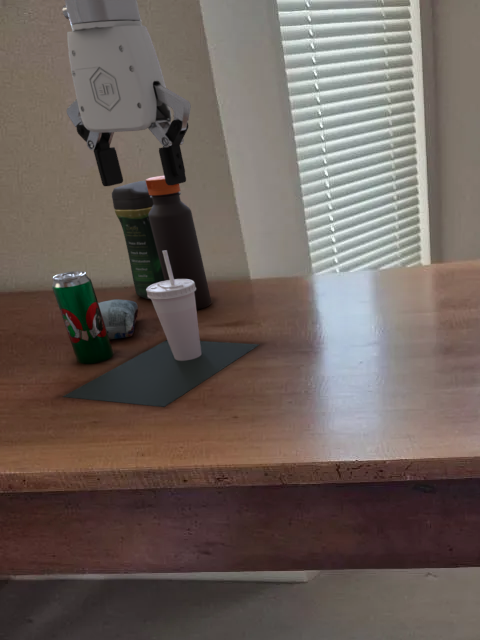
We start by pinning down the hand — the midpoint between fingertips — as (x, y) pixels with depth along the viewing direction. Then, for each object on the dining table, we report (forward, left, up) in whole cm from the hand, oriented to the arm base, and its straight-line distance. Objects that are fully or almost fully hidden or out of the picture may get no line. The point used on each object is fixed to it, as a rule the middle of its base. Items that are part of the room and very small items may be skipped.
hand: (144, 184), depth 90 cm
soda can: (-14, -3, -23) cm, 27 cm away
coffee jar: (-27, +30, -23) cm, 46 cm away
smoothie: (0, 0, -22) cm, 22 cm away
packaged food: (-20, +7, -23) cm, 31 cm away
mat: (0, -5, -22) cm, 23 cm away
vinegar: (-16, +23, -23) cm, 36 cm away
